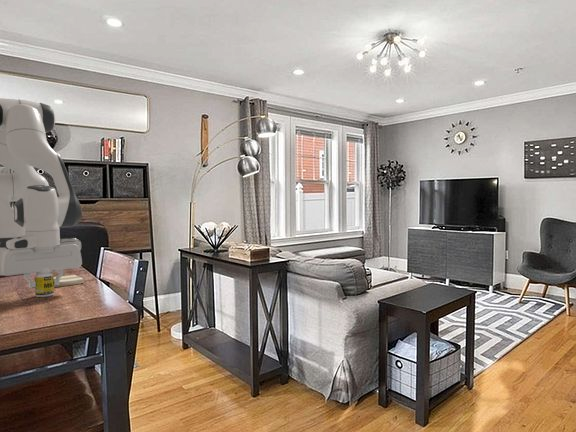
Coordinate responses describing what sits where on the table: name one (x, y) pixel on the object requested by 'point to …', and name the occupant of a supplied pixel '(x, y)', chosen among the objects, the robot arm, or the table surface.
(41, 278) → the supplement bottle
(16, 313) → the table surface
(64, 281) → the ash board
